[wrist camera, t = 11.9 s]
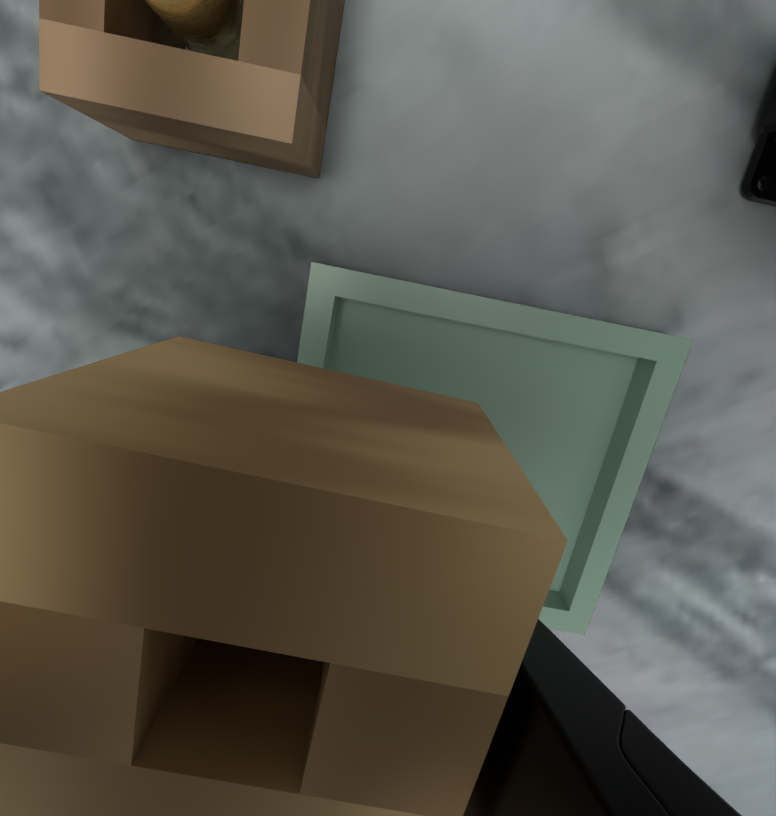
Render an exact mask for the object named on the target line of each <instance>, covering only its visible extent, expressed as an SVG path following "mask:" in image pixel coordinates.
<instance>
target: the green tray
mask: <svg viewBox="0 0 776 816" xmlns="http://www.w3.org/2000/svg"><path fill="white" fill-rule="evenodd" d="M692 341H693V340H692V339H687V338H682V337H677V336H673V335H668V334H663V333H658V332H653V331H648V330H643V329H638V328H633V327H628V326H623V325H619V324H614V323H609V322H604V321H599V320H594V319H589V318H584V317H579V316H574V315H569V314H565V313H560V312H555V311H550V310H545V309H540V308H535V307H530V306H525V305H520V304H515V303H511V302H506V301H501V300H496V299H491V298H486V297H481V296H476V295H471V294H466V293H461V292H457V291H452V290H447V289H442V288H437V287H432V286H427V285H422V284H417V283H412V282H407V281H402V280H398V279H393V278H388V277H383V276H378V275H373V274H368V273H363V272H358V271H353V270H348V269H344V268H339V267H334V266H329V265H324V264H319V263H314V262H311V268H310V275H309V282H308V289H307V296H306V302H305V309H304V316H303V323H302V330H301V337H300V343H299V350H298V357H297V363H302V364H306V365H311V366H315V367H320V368H324V369H329V370H333V371H338V372H342V373H347V374H351V375H356V376H360V377H365V378H369V379H374V380H378V381H383V382H387V383H392V384H396V385H401V386H405V387H410V388H414V389H419V390H423V391H428V392H432V393H437V394H441V395H446V396H450V397H455V398H459V399H464V400H468V401H473V402H477V403H479V405H480V406H481V408H482V409H483V411H484V412H485V414H486V416H487V417H488V419H489V420H490V422H491V423H492V425H493V426H494V428H495V429H496V431H497V433H498V434H499V436H500V437H501V439H502V440H503V442H504V443H505V445H506V446H507V448H508V449H509V451H510V453H511V454H512V456H513V457H514V459H515V460H516V462H517V463H518V465H519V466H520V468H521V469H522V471H523V473H524V474H525V476H526V477H527V479H528V480H529V482H530V483H531V485H532V486H533V488H534V489H535V491H536V493H537V494H538V496H539V497H540V499H541V500H542V502H543V503H544V505H545V506H546V508H547V509H548V511H549V513H550V514H551V516H552V517H553V519H554V520H555V522H556V523H557V525H558V526H559V528H560V529H561V531H562V533H563V534H564V536H565V537H566V539H567V540H568V542H567V545H566V547H565V550H564V553H563V555H562V558H561V560H560V563H559V566H558V568H557V571H556V573H555V576H554V579H553V581H552V584H551V587H550V589H549V592H548V594H547V597H546V600H545V602H544V605H543V608H542V610H541V613H540V615H539V618H538V619H539V620H540V621H541V622H542V623H543V624H544V625H545V626H546V627H547V628H551V629H556V630H562V631H567V632H573V633H578V634H584V635H585V632H586V630H587V627H588V624H589V622H590V619H591V616H592V613H593V611H594V608H595V605H596V603H597V600H598V597H599V594H600V592H601V589H602V586H603V584H604V581H605V578H606V575H607V573H608V570H609V567H610V564H611V562H612V559H613V556H614V554H615V551H616V548H617V545H618V543H619V540H620V537H621V535H622V532H623V529H624V526H625V524H626V521H627V518H628V515H629V513H630V510H631V507H632V505H633V502H634V499H635V496H636V494H637V491H638V488H639V486H640V483H641V480H642V477H643V475H644V472H645V469H646V467H647V464H648V461H649V458H650V456H651V453H652V450H653V447H654V445H655V442H656V439H657V437H658V434H659V431H660V428H661V426H662V423H663V420H664V418H665V415H666V412H667V409H668V407H669V404H670V401H671V398H672V396H673V393H674V390H675V388H676V385H677V382H678V379H679V377H680V374H681V371H682V369H683V366H684V363H685V360H686V358H687V355H688V352H689V350H690V347H691V344H692Z"/></svg>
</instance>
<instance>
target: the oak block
mask: <svg viewBox="0 0 776 816" xmlns="http://www.w3.org/2000/svg"><path fill="white" fill-rule="evenodd" d="M567 542H568V540H567V539H566V537H565V536H564V534H563V533H562V531H561V529H560V528H559V526H558V525H557V523H556V522H555V520H554V519H553V517H552V516H551V514H550V513H549V511H548V509H547V508H546V506H545V505H544V503H543V502H542V500H541V499H540V497H539V496H538V494H537V493H536V491H535V489H534V488H533V486H532V485H531V483H530V482H529V480H528V479H527V477H526V476H525V474H524V473H523V471H522V469H521V468H520V466H519V465H518V463H517V462H516V460H515V459H514V457H513V456H512V454H511V453H510V451H509V449H508V448H507V446H506V445H505V443H504V442H503V440H502V439H501V437H500V436H499V434H498V433H497V431H496V429H495V428H494V426H493V425H492V423H491V422H490V420H489V419H488V417H487V416H486V414H485V412H484V411H483V409H482V408H481V406H480V405H479V403H477V402H473V401H468V400H464V399H459V398H455V397H450V396H446V395H441V394H437V393H432V392H428V391H423V390H419V389H414V388H410V387H405V386H401V385H396V384H392V383H387V382H383V381H378V380H374V379H369V378H365V377H360V376H356V375H351V374H347V373H342V372H338V371H333V370H329V369H324V368H320V367H315V366H311V365H306V364H302V363H297V362H293V361H288V360H284V359H279V358H275V357H270V356H266V355H261V354H257V353H252V352H248V351H243V350H239V349H234V348H230V347H225V346H221V345H216V344H212V343H207V342H203V341H198V340H194V339H189V338H185V337H180V336H178V337H175V338H171V339H168V340H165V341H162V342H159V343H155V344H152V345H149V346H146V347H143V348H139V349H136V350H133V351H130V352H127V353H124V354H120V355H117V356H114V357H111V358H108V359H104V360H101V361H98V362H95V363H92V364H88V365H85V366H82V367H79V368H76V369H72V370H69V371H66V372H63V373H60V374H57V375H53V376H50V377H47V378H44V379H41V380H37V381H34V382H31V383H28V384H25V385H21V386H18V387H15V388H12V389H9V390H5V391H2V392H0V816H463V814H464V812H465V809H466V807H467V804H468V801H469V799H470V796H471V793H472V791H473V788H474V786H475V783H476V780H477V778H478V775H479V773H480V770H481V767H482V765H483V762H484V759H485V757H486V754H487V752H488V749H489V746H490V744H491V741H492V738H493V736H494V733H495V731H496V728H497V725H498V723H499V720H500V718H501V715H502V712H503V710H504V707H505V704H506V702H507V699H508V697H509V694H510V691H511V689H512V686H513V683H514V681H515V678H516V676H517V673H518V670H519V668H520V665H521V663H522V660H523V657H524V655H525V652H526V649H527V647H528V644H529V642H530V639H531V636H532V634H533V631H534V628H535V626H536V623H537V621H538V618H539V615H540V613H541V610H542V608H543V605H544V602H545V600H546V597H547V594H548V592H549V589H550V587H551V584H552V581H553V579H554V576H555V573H556V571H557V568H558V566H559V563H560V560H561V558H562V555H563V553H564V550H565V547H566V545H567Z"/></svg>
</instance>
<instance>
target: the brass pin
mask: <svg viewBox="0 0 776 816" xmlns="http://www.w3.org/2000/svg"><path fill="white" fill-rule="evenodd" d="M145 1H146V2H147V3H148V4H149V6H150V7H151V8H152V9H153V10H154V11H155V12H156V13H157V14H158V16H159V17H160V18H161V19H162V20H163V21H164V22H165V23H166V24H167V26H168V27H169V28H170V29H171V30H172V31H173V32H174V33H175V34H176V36H177V37H178V38H179V39H180V40H181V41H182V42H183V43H184V44H185V45H186V47H187V48H188V49H189V50H190V51H194V52H198V53H203V54H207V55H212V56H217V57H221V58H226V59H231V60H235V61H238V57H239V47H240V36H241V26H242V16H243V5H244V0H145Z"/></svg>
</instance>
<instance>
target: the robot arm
mask: <svg viewBox="0 0 776 816" xmlns="http://www.w3.org/2000/svg"><path fill="white" fill-rule="evenodd" d="M761 128H762V133H761V136H760V139H759V142H758V144H757V147H756V150H755V153H754V155H753V158H752V161H751V164H750V166H749V169H748V172H747V175H746V177H745V180H744V183H743V193H744V195H745V196H746V198H748V199H750V200H753V201H758V202H763V203H768V204H772V205H776V86H775V89H774V92H773V94H772V97H771V100H770V103H769V105H768V108H767V111H766V114H765V116H764V119H763V122H762V125H761ZM760 178H761V179H763V181H764V187H763V189H762V190H759V188H758V181H759V179H760ZM625 709H626V707H625V705H624V704H623V703H622V702H621V701H620V700H619V699H618V698H617V697H616V696H615V695H614V694H613V693H612V692H611V691H610V690H609V689H608V688H607V687H606V686H605V685H604V684H603V683H602V682H601V681H600V680H599V679H598V678H597V677H596V676H595V675H594V674H593V673H592V672H591V671H590V670H589V669H588V668H587V667H586V666H585V665H584V664H583V663H582V662H581V661H580V660H579V659H578V658H577V657H576V656H575V655H574V654H573V653H572V652H571V651H570V650H569V649H568V648H567V647H566V646H565V645H564V644H563V643H562V642H561V641H560V640H559V639H558V638H557V637H556V636H555V635H554V634H553V633H552V632H551V631H550V630H549V629H548V628H547V627H546V626H545V625H544V624H543V623H542V622H541V621H540V620H539V619H538V621H537V623H536V626H535V628H534V631H533V634H532V636H531V639H530V642H529V644H528V647H527V649H526V652H525V655H524V657H523V660H522V663H521V665H520V668H519V670H518V673H517V676H516V678H515V681H514V683H513V686H512V689H511V691H510V694H509V697H508V699H507V702H506V704H505V707H504V710H503V712H502V715H501V718H500V720H499V723H498V725H497V728H496V731H495V733H494V736H493V738H492V741H491V744H490V746H489V749H488V752H487V754H486V757H485V759H484V762H483V765H482V767H481V770H480V773H479V775H478V778H477V780H476V783H475V786H474V788H473V791H472V793H471V796H470V799H469V801H468V804H467V807H466V809H465V812H464V814H463V816H741V815H740V814H739V813H738V812H737V811H736V810H735V809H734V808H733V807H731V806H730V805H729V804H728V803H727V802H726V801H725V800H724V799H723V798H721V797H720V796H719V795H718V794H717V793H716V792H715V791H714V790H713V789H712V788H711V787H709V786H708V785H707V784H706V783H705V782H704V781H703V780H702V779H701V778H700V777H699V776H697V775H696V774H695V773H694V772H693V771H692V770H691V769H690V768H689V767H688V766H686V765H685V764H684V763H683V762H682V761H681V760H680V759H679V758H678V757H677V756H676V755H675V754H674V753H673V752H672V751H671V750H670V749H669V748H668V747H667V746H666V745H665V744H664V743H663V742H662V741H661V740H660V739H659V738H658V737H657V736H655V735H654V734H653V733H652V732H651V731H650V730H649V729H648V728H647V727H646V726H645V725H644V724H643V723H642V722H641V721H640V720H639V719H638V718H637V717H636V716H635V715H634V714H633V713H632V712H631V711H630V710H626V711H625Z"/></svg>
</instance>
